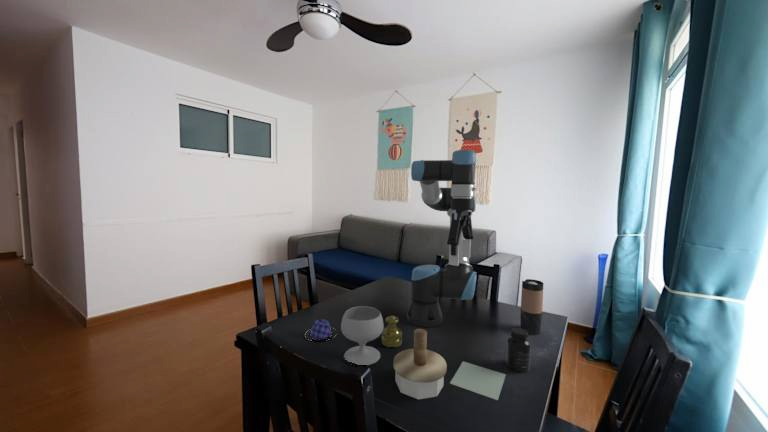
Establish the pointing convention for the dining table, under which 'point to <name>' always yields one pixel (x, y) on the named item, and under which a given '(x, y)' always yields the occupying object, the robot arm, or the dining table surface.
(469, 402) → the dining table surface
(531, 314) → the travel mug
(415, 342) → the lid
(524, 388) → the dining table surface
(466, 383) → the mat
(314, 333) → the purple plaid hat
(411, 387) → the bowl
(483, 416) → the dining table surface
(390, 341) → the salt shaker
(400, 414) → the dining table surface
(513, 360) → the supplement bottle
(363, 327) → the chalice
